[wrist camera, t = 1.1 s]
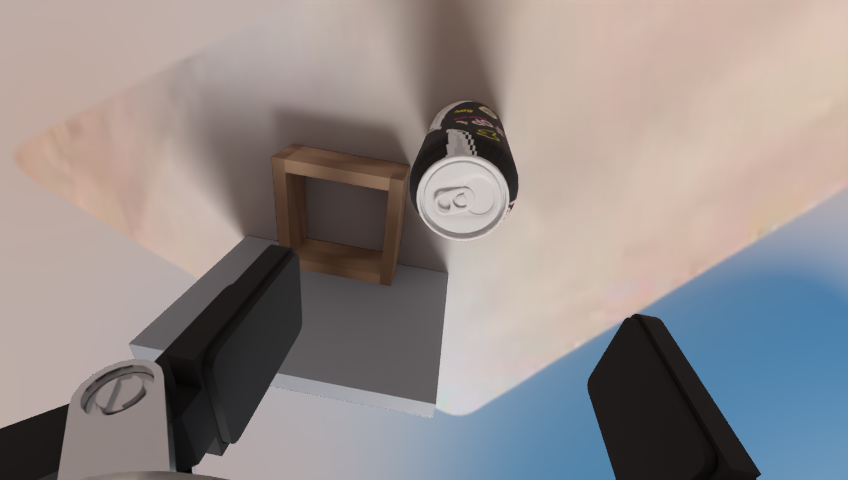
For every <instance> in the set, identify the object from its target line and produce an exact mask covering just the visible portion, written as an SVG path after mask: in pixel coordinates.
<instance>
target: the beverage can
mask: <svg viewBox="0 0 848 480" xmlns="http://www.w3.org/2000/svg"><path fill="white" fill-rule="evenodd" d="M517 192H518V174H517V170H516V166H515V163H514V160H513V157H512V154H511V151H510V148H509V144H508V141H507V138H506V135H505V132H504V129H503V126H502V123H501V121H500V119H499V117H498V116H497V115H496V114H495V112H494V111H493V110H491V109H490V108H489V107H488V106H486V105H484V104H482V103H479V102H475V101H467V100H465V101H458V102H455V103H453V104H450V105H448V106H447V107H445V108H443V109H442V110H441V111H440V112H439V113H438V114H437V116H436V117H435V118H434V120H433V122H432V124H431V126H430V128H429V130H428V133H427V135H426V137H425V140H424V142H423V144H422V147H421V149H420V151H419V153H418V156H417V158H416V160H415V163H414V165H413V167H412V171H411V175H410V194H411V199H412V202H413V204H414V207H415V209H416V210H417V212H418V213H419V215H420V216H421V218H422V219H423V221H424V222H425V224H426V225H427V226H428V227H429V228H430V229H431V230H433V231H434V232H436V233H437V234H439V235H441V236H443V237H445V238H448V239H452V240H460V241H465V240H473V239H477V238H480V237H483V236H485V235H487V234H488V233H490V232H491V231H493V230H494V229H495V228H496V227H497V226H498V225H499V224H500V223H501V222H502V221H503V220H504V219H505V218H506V217H507V215H508V214H509V212H510V211H511V209H512V207H513V205H514V202H515V200H516V198H517Z"/></svg>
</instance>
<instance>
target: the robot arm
mask: <svg viewBox="0 0 848 480" xmlns="http://www.w3.org/2000/svg"><path fill="white" fill-rule="evenodd" d="M301 327H302V303H301V282H300V261H299V255H298V254H295V253H294V251H293V249H292V248H290V247H285V246H280V245H275V244H271V245H269V246H268V247H267V248H266V249H265V250H264V251H263V252H262V254H261V255H260V256H259V257H258V258H257V259H256V260H255V261H254V262H253V263H252V264H251V265H250V266H249V267H248V268H247V269H246V270H245V272H244V273H243V274H242V275H241V276H240V277H239V278H238V279H237V280H236V281H235V282H234V283H233V284H230V285H228V286H227V287H226V288H224V289H223V290H222V291H221V292H220V293H219V294H218V295H217V297H216V298H215V299H214V300H213V301H212V302H211V303H210V304H209V305H208V306H207V307H206V308H205V309H204V310H203V311H202V312H201V313H200V314H199V315H198V316H197V317H196V318H195V319H194V320H193V322H192V323H191V324H190V325H189V326H188V327H187V328H186V329H185V330H184V331H183V332H182V333H181V334H180V335H179V336H178V337H177V338H176V339H175V340H174V341H173V342H172V343H171V344H170V345H169V347H168V348H167V349H166V350H165V351H164V352H163V353H162V354H161V355H160V356H159V357H158V358H157V359H156V360H155V361H154V362H153V361H149V360H146V359H132V360H128V361H122V362H118V363H116V364H114V365H110V366H108V367H105V368H104V369H102V370H100V371H98V372H97V373H95V374H93V375H92V376H91V377H89V378H88V379H87V380H86V381H85V382H83V383H82V384H81V385H80V386H79V388H78V389H77V390H76V392H75V393H74V394H73V396H72V399H71V401H70V403H69V404H67V405H64V406H61V407H58V408H56V409H53V410H50V411H47V412H45V413H42V414H39V415H37V416H34V417H31V418H29V419H26V420H23V421H20V422H17V423H15V424H12V425H9V426H6V427H4V428H1V429H0V480H227V479H222V478H217V477H211V476H204V475H196V469H195V465H197V464H199V462H200V461H201V459H202V458H203V456H204V455H205V453H209V454H214V455H219V456H222V455H223V453H224V452H225V450H226V449H227V447H228V445H229V443H232V444H234V443H236V442H237V441H238V440H239V438H240V437H241V435H242V433H243V431H244V430H245V428H246V426H247V424H248V423H249V421H250V419H251V417H252V416H253V414H254V412H255V410H256V409H257V407H258V405H259V403H260V401H261V400H262V398H263V396H264V395H265V393H266V391H267V389H268V388H269V386H270V384H271V382H272V381H273V379H274V377H275V375H276V374H277V372H278V370H279V368H280V367H281V365H282V363H283V361H284V360H285V358H286V356H287V354H288V353H289V351H290V349H291V347H292V346H293V344H294V342H295V340H296V339H297V337H298V335H299V333H300V331H301ZM587 386H588V393H589V395H590V399H591V402H592V405H593V408H594V411H595V414H596V418H597V421H598V424H599V427H600V430H601V433H602V437H603V440H604V443H605V446H606V449H607V452H608V456H609V458H610V462H611V465H612V468H613V471H614V474H615V477H616V480H756V478H757V477H758V476H760V475H761V473H760V472H759V470H758V469H757V467H756V466H755V464H754V462H753V461H752V459H751V458H750V456H749V455H748V453H747V452H746V450H745V448H744V447H743V445H742V444H741V442H740V441H739V439H738V438H737V436H736V435H735V433H734V431H733V430H732V428H731V427H730V425H729V424H728V422H727V421H726V419H725V418H724V416H723V414H722V413H721V411H720V410H719V408H718V407H717V405H716V404H715V402H714V401H713V399H712V398H711V396H710V394H709V393H708V392H707V390H706V388H705V387H704V385H703V384H702V382H701V381H700V379H699V377H698V376H697V374H696V373H695V371H694V370H693V368H692V367H691V365H690V364H689V362H688V361H687V359H686V357H685V356H684V354H683V353H682V351H681V350H680V348H679V347H678V345H677V343H676V342H675V340H674V339H673V337H672V336H671V334H670V333H669V331H668V330H667V328H666V327H665V325H664V323H663V322H662V321H661V320H660V319H659V318H657V317H651V316H646V315H641V314H634V315H632V316H631V318H626V319H625V320H624V321H623V323H622V325H621V326H620V328H619V330H618V331H617V333H616V335H615V336H614V338H613V339H612V341H611V343H610V344H609V346H608V348H607V349H606V351H605V352H604V354H603V356H602V358H601V359H600V361H599V362H598V364H597V366H596V367H595V369H594V371H593V372H592V374H591V376H590V377H589V379H588V385H587Z"/></svg>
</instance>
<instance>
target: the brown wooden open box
mask: <svg viewBox="0 0 848 480" xmlns="http://www.w3.org/2000/svg"><path fill="white" fill-rule="evenodd" d="M271 159H272V171H273V183H274V195H275V207H276V219H277V231H278V242H279V245H280V246H285V247H290V248H292V249H293V251H294V253H295V254H298V255H299V261H300V269H303V270H308V271H313V272H318V273H324V274H329V275H334V276H340V277H345V278H350V279H355V280H361V281H366V282H371V283H377V284H382V285H387V286H391V283H392V280H393V277H394V273H395V270H396V267H397V264H398V256H399V249H400V241H401V233H402V226H403V218H404V210H405V202H406V195H407V187H408V179H409V171H410V165H405V164H399V163H393V162H388V161H382V160H377V159H371V158H366V157H360V156H355V155H349V154H344V153H338V152H332V151H327V150H321V149H316V148H310V147H305V146H299V145H294V144H291V145H290V146H288V147H287V148H285V149H283V150H282V151H280V152H279V153H277V154H275V155H274V156H272V157H271ZM305 176H309V177H315V178H320V179H326V180H331V181H337V182H342V183H348V184H353V185H359V186H364V187H369V188H375V189H380V190H386V191H389V193H388V203H387V213H386V223H385V233H384V243H383V252H378V251H373V250H367V249H362V248H357V247H351V246H346V245H341V244H335V243H330V242H325V241H319V240H314V239H309V238H307V232H306V203H305Z"/></svg>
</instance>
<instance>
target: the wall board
mask: <svg viewBox="0 0 848 480" xmlns="http://www.w3.org/2000/svg"><path fill="white" fill-rule="evenodd" d="M271 244H275V245H279V242H278V241H273V240H268V239H263V238H257V237H252V236H246V237H245V238H244V239H243V240H242V241H241V242H240V243H239V244H238V245H236V246H235V247H234V248H233V249H232V250H231V251H230V252H229V253H228V254H227V255H226V256H224V257H223V258H222V259H221V260H220V261H219V262H218V263H217V264H216V265H215V266H213V267H212V268H211V269H210V270H209V271H208V272H207V273H206V274H205V275H204V276H203V277H201V278H200V279H199V280H198V281H197V282H196V283H195V284H194V285H193V286H192V287H190V288H189V289H188V290H187V291H186V292H185V293H184V294H183V295H182V296H181V297H180V298H178V299H177V300H176V301H175V302H174V303H173V304H172V305H171V306H170V307H169V308H168V309H166V310H165V311H164V312H163V313H162V314H161V315H160V316H159V317H158V318H157V319H156V320H154V321H153V322H152V323H151V324H150V325H149V326H148V327H147V328H146V329H145V330H143V331H142V332H141V333H140V334H139V335H138V336H137V337H136V338H135V339H134V340H132V341H131V342H130V343H129V346H130V348H131V351H132V353H133V355H134V357H135V359H146V360H149V361H153V362H154V361H155V360H156V359H157V358H158V357H159V356H160V355H161V354H162V353H163V352H164V351H165V350H166V349H167V348H168V347H169V345H170V344H171V343H172V342H173V341H174V340H175V339H176V338H177V337H178V336H179V335H180V334H181V333H182V332H183V331H184V330H185V329H186V328H187V327H188V326H189V325H190V324H191V323H192V322H193V320H194V319H195V318H196V317H197V316H198V315H199V314H200V313H201V312H202V311H203V310H204V309H205V308H206V307H207V306H208V305H209V304H210V303H211V302H212V301H213V300H214V299H215V298H216V297H217V295H218V294H219V293H220V292H221V291H222V290H223V289H224V288H226V287H227V286H228V285H230V284H233V283H234V282H235V281H236V280H237V279H238V278H239V277H240V276H241V275H242V274H243V273H244V272H245V270H246V269H247V268H248V267H249V266H250V265H251V264H252V263H253V262H254V261H255V260H256V259H257V258H258V257H259V256H260V255H261V254H262V252H263V251H264V250H265V249H266V248H267V247H268V246H269V245H271ZM300 282H301V303H302V327H301V331H300V333H299V335H298V337H297V339H296V340H295V342H294V344H293V346H292V347H291V349H290V351H289V353H288V354H287V356H286V358H285V360H284V361H283V363H282V365H281V367H280V368H279V370H278V372H277V374H276V375H275V377H274V379H273V381H272V382H271V384H270V386H271V387H276V388H282V389H287V390H291V391H297V392H302V393H307V394H312V395H317V396H322V397H327V398H332V399H337V400H342V401H347V402H352V403H357V404H362V405H367V406H372V407H377V408H383V409H388V410H393V411H397V412H403V413H408V414H413V415H418V416H423V417H428V418H432V416H433V412H434V409H435V405H436V396H437V386H438V376H439V365H440V355H441V345H442V334H443V324H444V313H445V303H446V293H447V282H448V273H444V272H439V271H433V270H428V269H423V268H417V267H412V266H407V265H401V264H397V267H396V270H395V273H394V277H393V280H392V283H391V286H387V285H382V284H377V283H371V282H366V281H361V280H355V279H350V278H345V277H340V276H334V275H329V274H324V273H318V272H313V271H308V270H303V269H300Z"/></svg>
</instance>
